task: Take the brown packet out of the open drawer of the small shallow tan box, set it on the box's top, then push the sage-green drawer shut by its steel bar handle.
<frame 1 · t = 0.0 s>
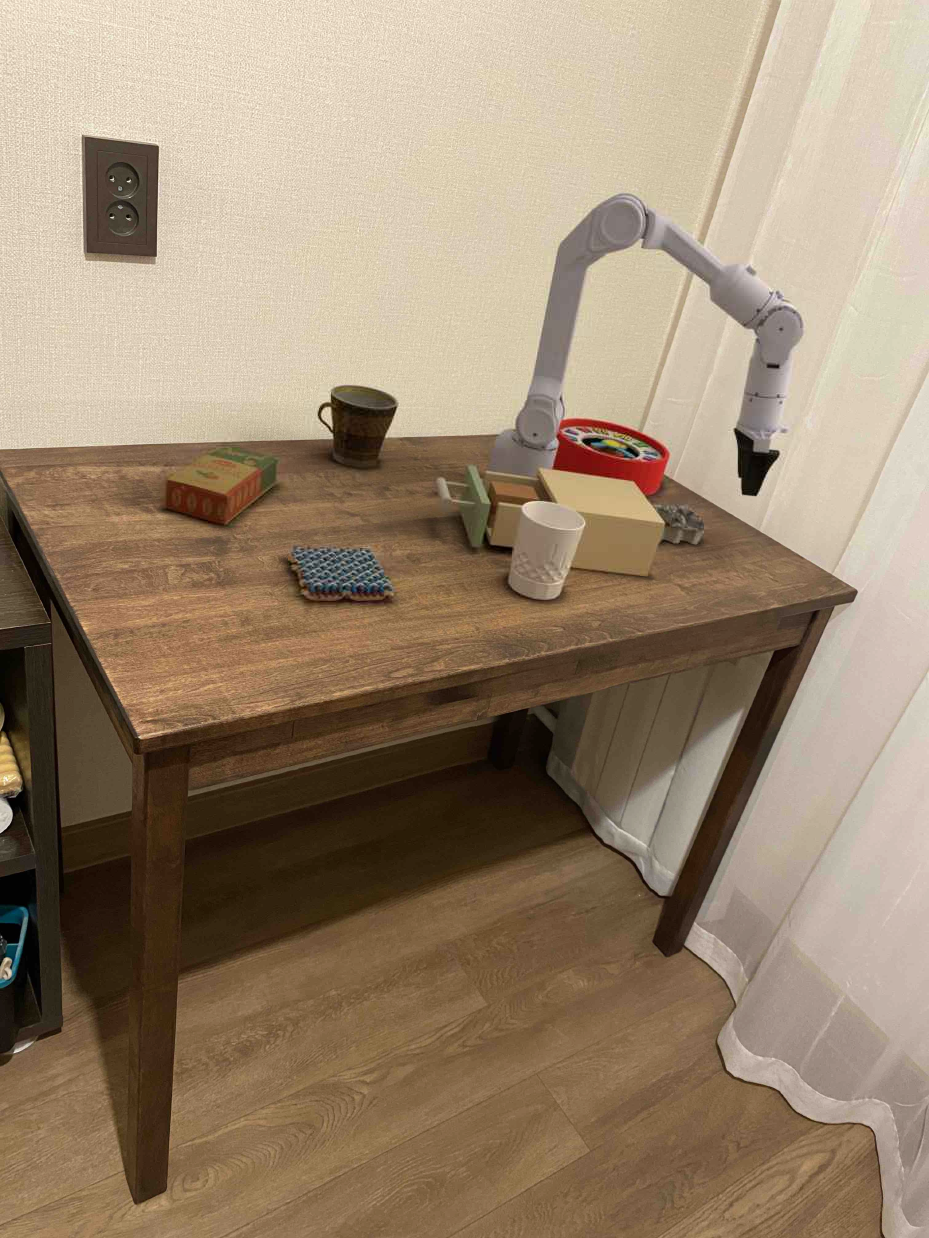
hand: (747, 486, 133), 11 cm above the table, tool pointing down, fingers open, 7 cm apart
ceramic cup: (347, 461, 138), on the table
shallow tan box: (583, 546, 128), on the table
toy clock: (602, 472, 159), on the table
carton: (222, 497, 119), on the table
egg carton: (664, 534, 139), on the table
woven mat: (339, 582, 106), on the table
packet: (506, 523, 125), point 2 cm above the table, touching drawer
drawer: (501, 508, 124), point 4 cm above the table, slide at 9.0 cm, touching packet
white cup: (533, 588, 114), on the table
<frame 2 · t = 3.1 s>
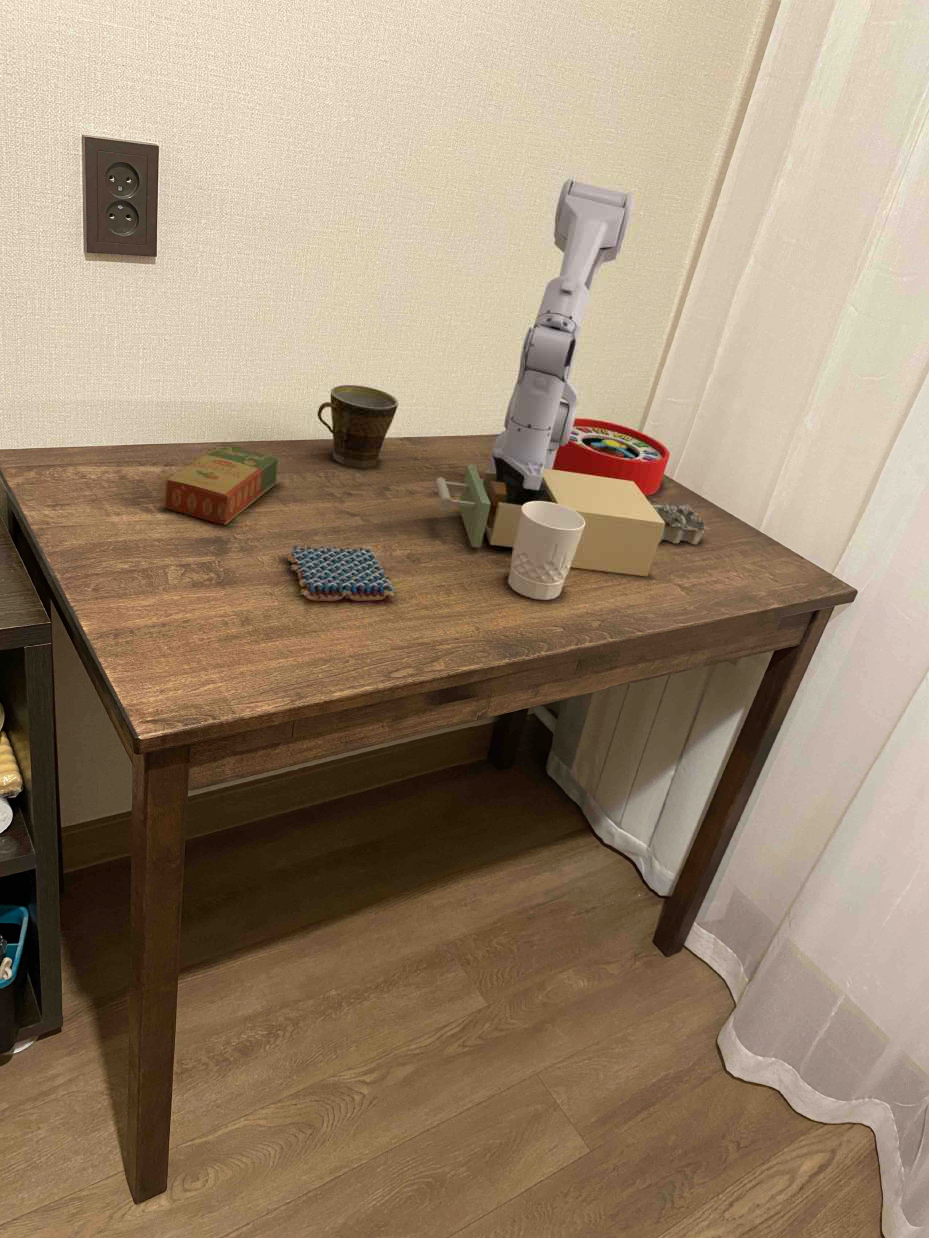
hand: (507, 517, 124), 3 cm above the table, tool pointing down
drawer: (501, 508, 124), point 4 cm above the table, slide at 9.0 cm, touching gripper, packet
everything else where it was.
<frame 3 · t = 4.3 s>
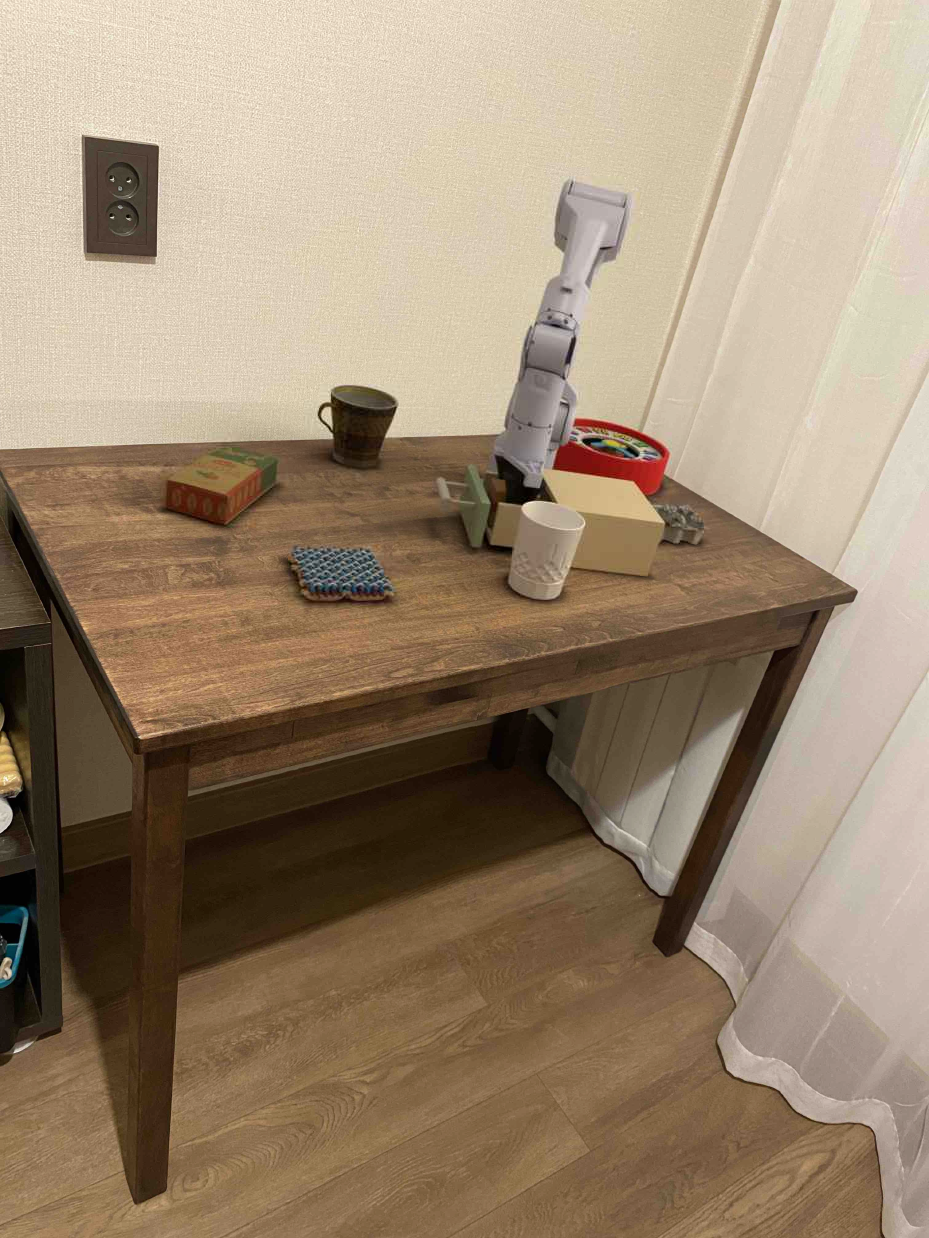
hand: (508, 515, 124), 3 cm above the table, tool pointing down, fingers closed on packet, 4 cm apart
packet: (507, 520, 125), point 2 cm above the table, touching gripper
drawer: (501, 508, 124), point 4 cm above the table, slide at 9.0 cm
everything else where it was.
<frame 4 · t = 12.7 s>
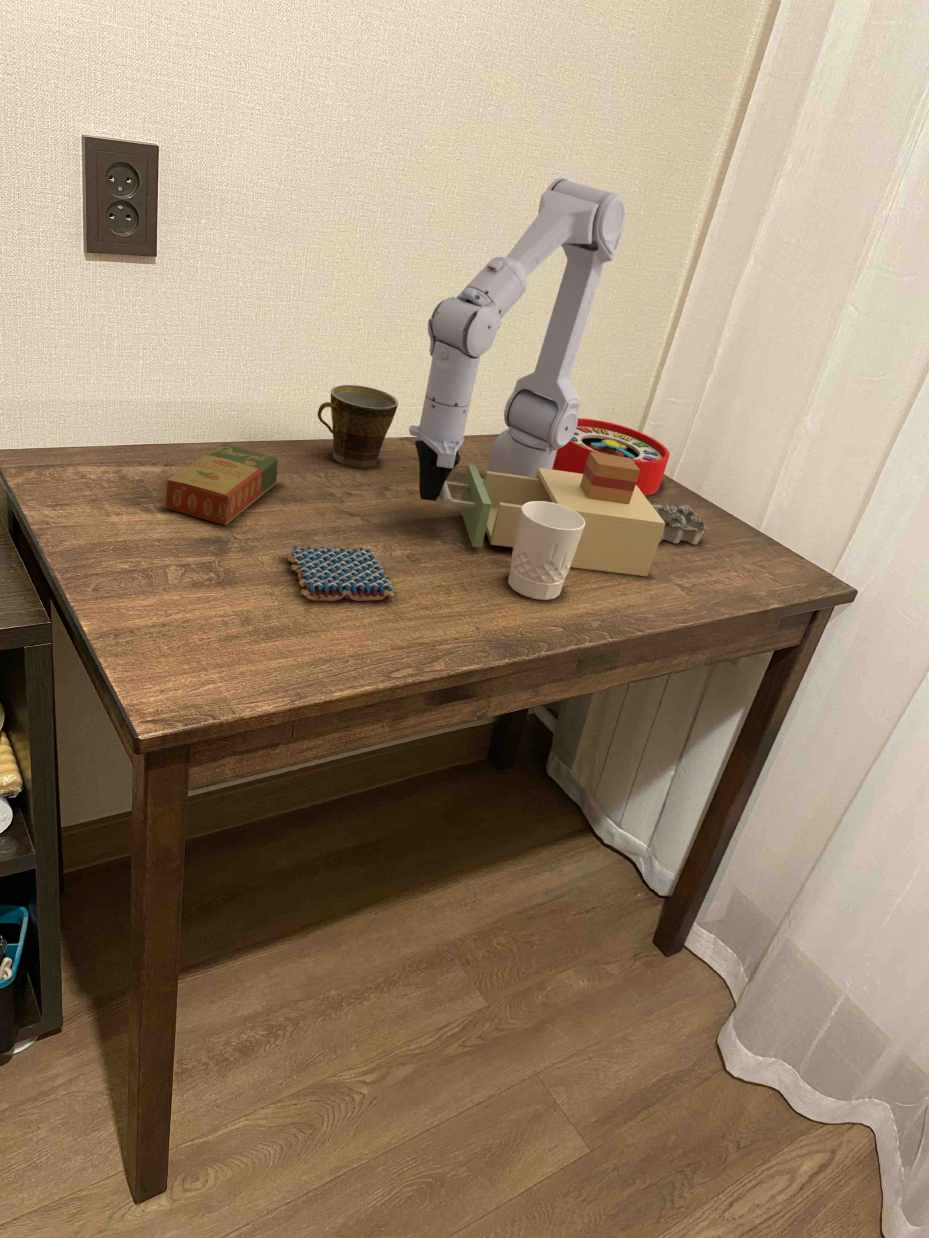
hand: (427, 498, 121), 4 cm above the table, tool pointing down, fingers closed, pressing on drawer
packet: (604, 495, 125), point 8 cm above the table, touching shallow tan box
drawer: (502, 508, 124), point 4 cm above the table, slide at 8.9 cm, touching gripper
everything else where it was.
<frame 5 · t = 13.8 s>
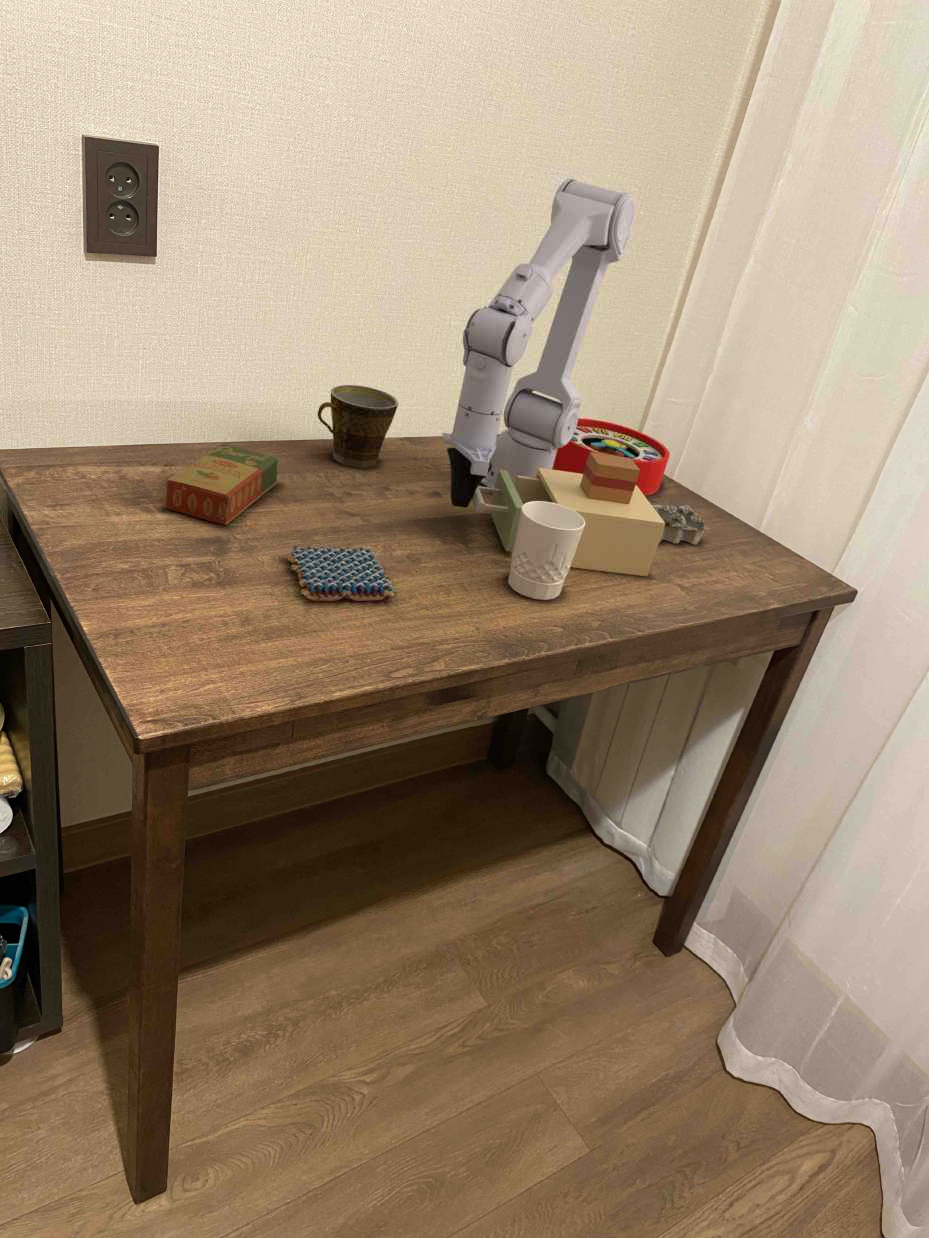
hand: (459, 504, 122), 4 cm above the table, tool pointing down, fingers closed, pressing on drawer
drawer: (533, 513, 125), point 4 cm above the table, slide at 4.4 cm, touching gripper
everything else where it was.
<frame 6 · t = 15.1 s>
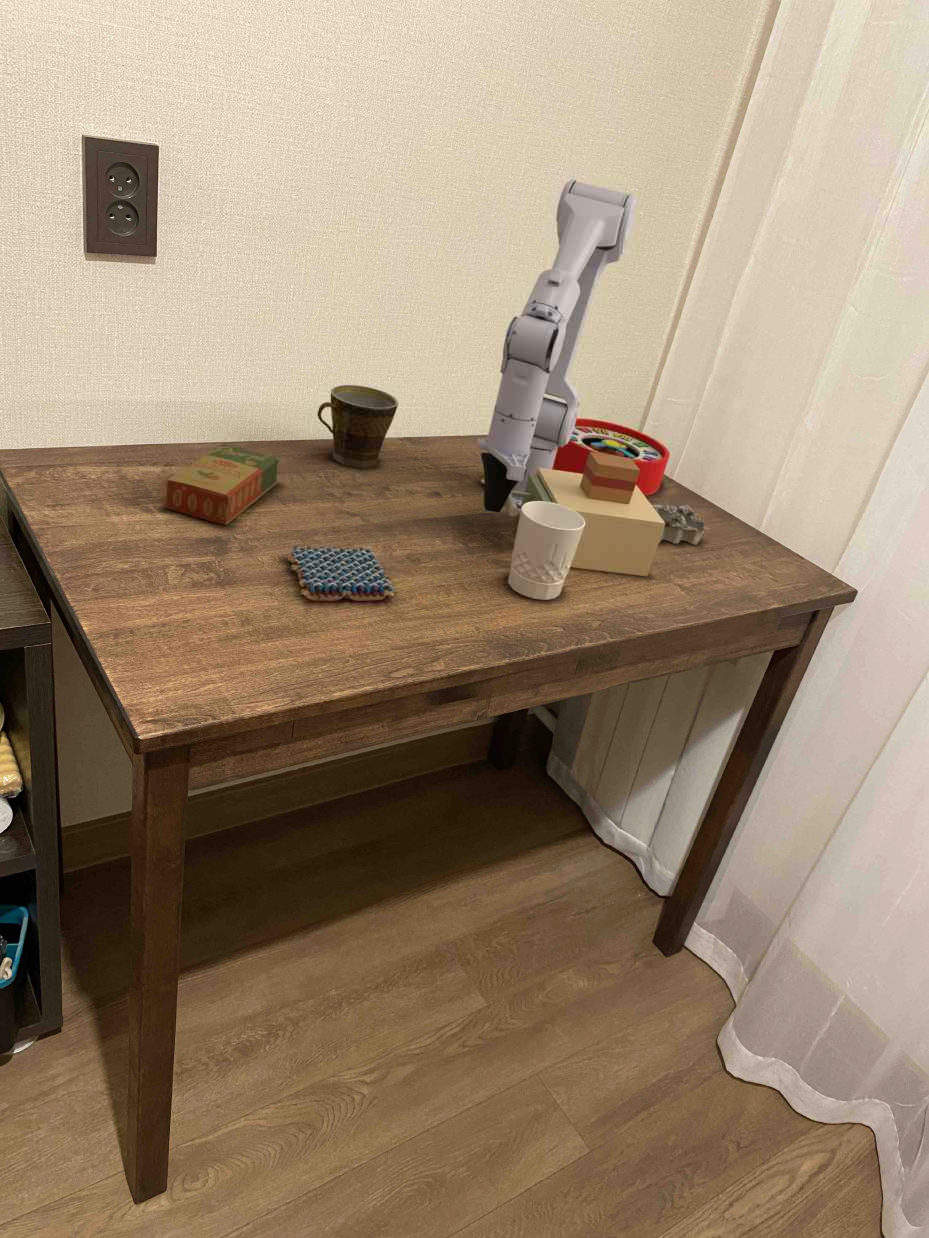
hand: (491, 509, 123), 4 cm above the table, tool pointing down, fingers closed, pressing on drawer
drawer: (564, 517, 126), point 4 cm above the table, slide at 0.0 cm, touching gripper, shallow tan box
everything else where it was.
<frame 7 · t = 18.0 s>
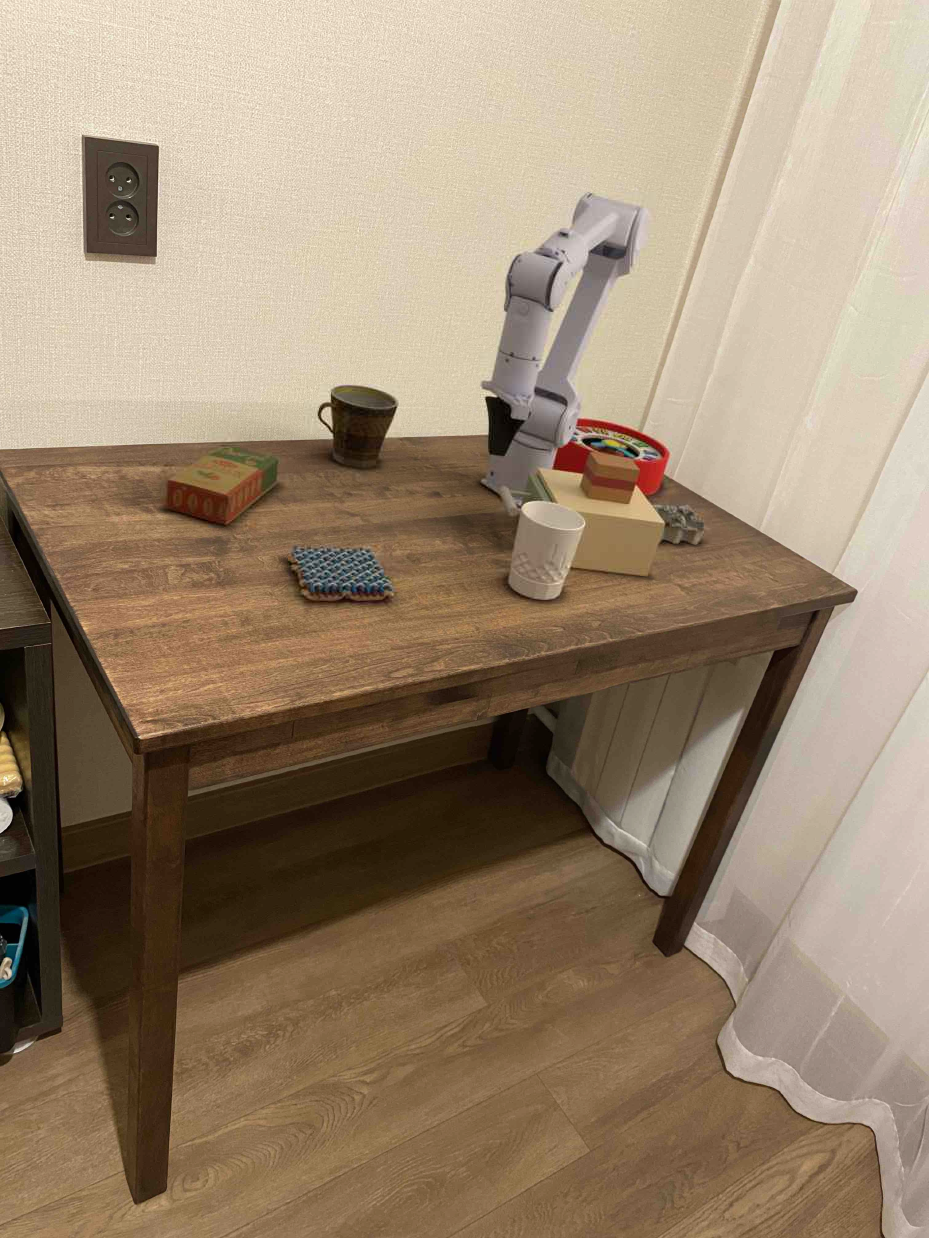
hand: (496, 453, 123), 10 cm above the table, tool pointing down, fingers closed
drawer: (564, 517, 126), point 4 cm above the table, slide at 0.0 cm, touching shallow tan box
everything else where it was.
at the end: packet inside the target area on the shallow tan box (0.7 cm from its centre), point 8.1 cm above the shallow tan box's base; packet tilted 0°; drawer slide at 0.0 cm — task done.
